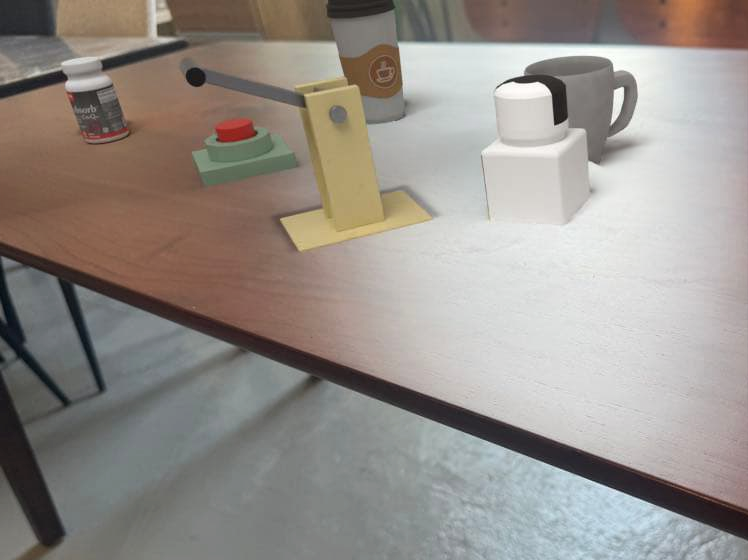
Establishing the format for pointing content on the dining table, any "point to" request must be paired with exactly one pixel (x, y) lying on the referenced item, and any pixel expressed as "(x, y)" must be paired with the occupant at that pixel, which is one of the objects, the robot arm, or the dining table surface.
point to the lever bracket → (344, 173)
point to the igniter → (242, 158)
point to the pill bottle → (94, 101)
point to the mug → (591, 96)
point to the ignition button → (235, 130)
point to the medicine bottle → (535, 155)
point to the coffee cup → (370, 55)
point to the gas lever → (239, 83)
